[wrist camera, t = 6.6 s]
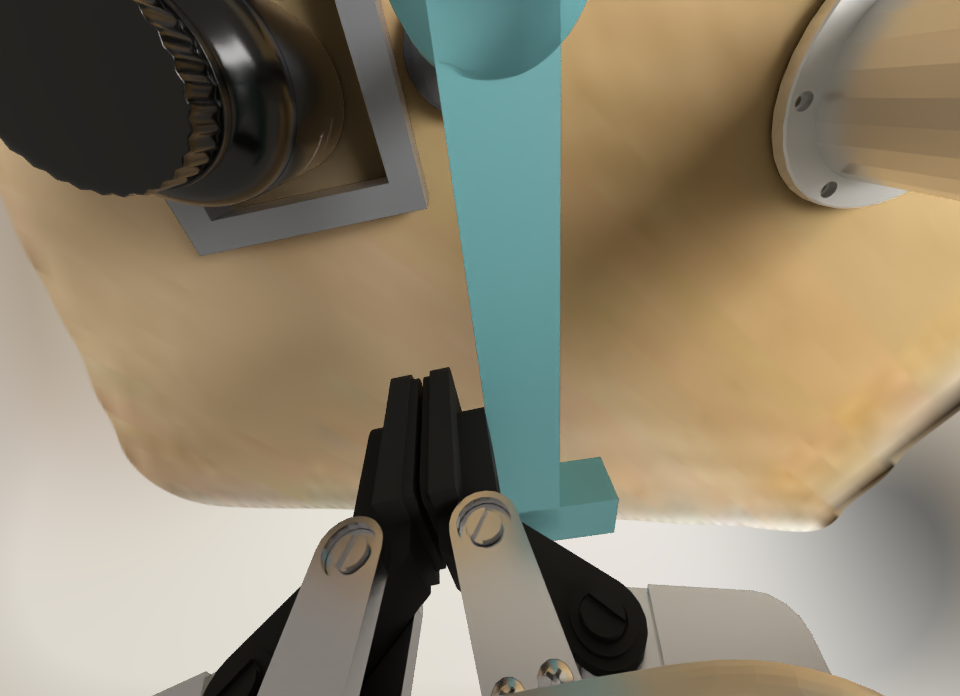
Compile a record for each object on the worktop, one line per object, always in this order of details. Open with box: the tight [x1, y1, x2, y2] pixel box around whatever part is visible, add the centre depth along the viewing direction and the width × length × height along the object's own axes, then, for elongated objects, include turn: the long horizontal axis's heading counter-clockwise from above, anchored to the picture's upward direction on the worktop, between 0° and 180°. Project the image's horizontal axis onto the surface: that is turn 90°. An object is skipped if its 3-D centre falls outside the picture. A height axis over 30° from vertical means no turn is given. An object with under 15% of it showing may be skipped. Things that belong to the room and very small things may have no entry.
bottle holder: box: [164, 0, 429, 256], centre depth 17 cm, size 12×12×2 cm
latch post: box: [403, 29, 442, 111], centre depth 12 cm, size 5×5×13 cm
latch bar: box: [389, 0, 619, 541], centre depth 10 cm, size 17×6×2 cm, turn 6°
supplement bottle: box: [0, 0, 344, 207], centre depth 13 cm, size 7×7×12 cm
